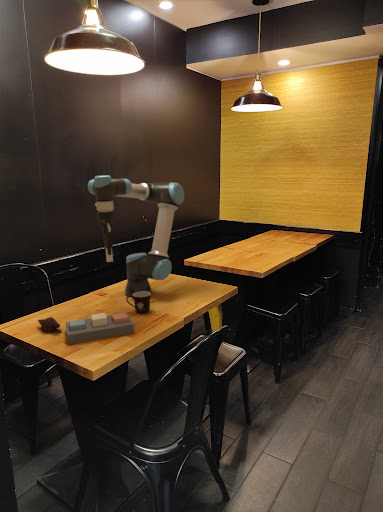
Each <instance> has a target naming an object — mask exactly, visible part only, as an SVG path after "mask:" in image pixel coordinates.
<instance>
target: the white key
mask: <svg viewBox="0 0 383 512" xmlns="http://www.w3.org/2000/svg"><path fill="white" fill-rule="evenodd" d="M106 316H107V315H106V312H102V313H101V312H100V313H94V314H90V318H91V324H92V327H98V326H104V325H107V317H106Z"/></svg>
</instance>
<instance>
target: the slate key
mask: <svg viewBox="0 0 383 512" xmlns="http://www.w3.org/2000/svg"><path fill="white" fill-rule="evenodd" d="M84 319H85V318H80V319H75V320H69V321H68V322H69V323H70V331H73V330H80V329H86V327H85V321H84Z"/></svg>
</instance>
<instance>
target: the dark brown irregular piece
mask: <svg viewBox="0 0 383 512" xmlns="http://www.w3.org/2000/svg"><path fill="white" fill-rule="evenodd" d="M37 322H38V323H39V325H40V329H41V331H42V332H44V333H54V332H55V333H58V334H62V332H63V331H62V330H61V329H60V327H61V325H60V323H59V322H58V321H57V320H56V319H55V318H54V317H52V316H49V317H46V318H44V319H37Z"/></svg>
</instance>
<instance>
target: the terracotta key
mask: <svg viewBox="0 0 383 512" xmlns="http://www.w3.org/2000/svg"><path fill="white" fill-rule="evenodd" d="M126 313H127V312H120V313H113V314H111V315H112V321H113V323H114V324H117V323H123V322H128V316H127V314H128V313H127V314H126Z"/></svg>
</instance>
